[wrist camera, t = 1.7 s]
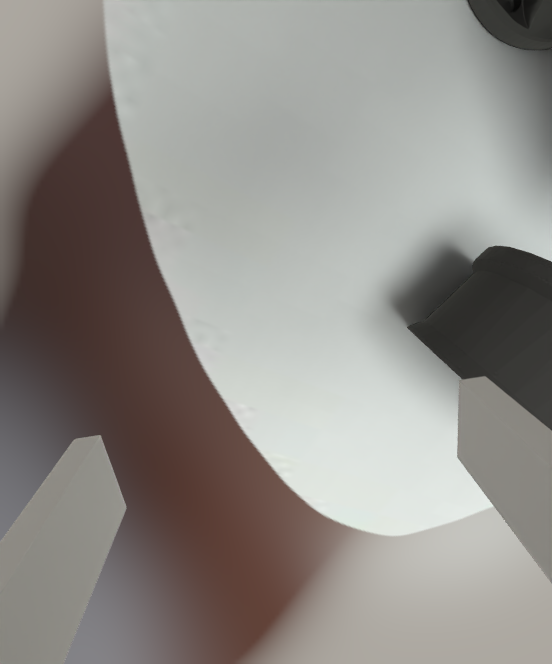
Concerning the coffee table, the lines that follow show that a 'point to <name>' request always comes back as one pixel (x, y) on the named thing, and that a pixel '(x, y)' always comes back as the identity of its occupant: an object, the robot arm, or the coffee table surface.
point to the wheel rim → (500, 327)
